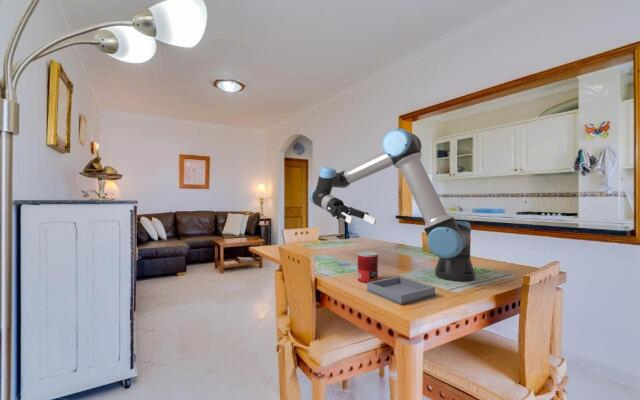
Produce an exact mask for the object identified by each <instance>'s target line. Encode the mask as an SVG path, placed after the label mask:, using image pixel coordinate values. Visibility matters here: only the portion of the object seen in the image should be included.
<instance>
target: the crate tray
mask: <svg viewBox="0 0 640 400" xmlns="http://www.w3.org/2000/svg"><path fill="white" fill-rule="evenodd" d="M366 291H367V292H368V293H370V294H373V295H376V296H379V297H380V298H382V299H385V300H388V301H390V302H393V303H395V304H397V305H399V306H403V305H407V304H411V303H414V302H419V301H422V300H425V299H429V298H432V297H433V298H434V297H435V296H436V287H435V286H432V285H430V284H426V283H424V282H423V283H422V282H419V281H415V280H412V279H409V278H406V277H403V276H399V275H398V276H395V277H394V276H393V277H390V278H389V277H388V278H385V279H384V278H383V279H378V280H377V281H373V282H368V283H366Z"/></svg>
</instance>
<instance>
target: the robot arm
mask: <svg viewBox="0 0 640 400" xmlns="http://www.w3.org/2000/svg"><path fill="white" fill-rule="evenodd" d="M381 145H382V146H381V147H382V150H383V151H382V152H380V153H377V154H375V155H374V156H372V157H369V158H368V159H365V160H363V161H361V162H359V163H357V164H354V165H352V166H350V167H348V168H346V169H344V170H342V171H340V172H337V169H335V168H334V167H333V168H332V167H329V166H322V167H321V169H320V172H319V173H318V174H319V175H318V179H317V182H316V188H315V189H313V190H311V192H310V193H309V200H310V202H311V203H312V204H314V205H315V206H318V207H319V208H321V209H323V210H324V211H326V213H329V214H330V215H331V216H332V217H333V218H336V220H340V219H341V220H343V221H345V222H346V223H348V224H350V225H352V223H353V219H354V217H356V218H359V219H363V221H365V222H367V223H368V224H371V225H373V226H375V225H376V222H377V218H376V217H374V216H372V215H370V213H368V211H362V210H360V209H356V208H354V207H353V206H347V205H345V203H344V202H343V200H341V199H340V198H338V197H336V196H334V195H331V193H332V190H333V188H339V189H344V188H345V189H346V188H348V187H349V186H350V185H351V184H353V183H355V182H357V181H359V180H362V179H364V178H367V177H370V176H371V175H374V174H376V173H378V172H380V171H383V170H385V169H387V168H390V167H392V166H394V168H397V169H398V170H400V172H401V174H402V175H403V176H402V177H403V178H404V180H405V183H406V185H407V186H408V189H409V191H410V193H411V195H412V198H413V200H414V202H415V203H416V206H417V208H418V211H419V212H420V214H421V216H422V218H423V221H424V222H425V225H424V227H423V230H424V232H425V234H426V236H427V239H426V244H427V247H428V249H429V250H430V252H431V253H432V254H433V255H435V256H436V257H438V260H437V264H436V265H435V269H434V274H435V275H434V276H436V277H437V278H440V279H444V280H448V281H454V282H455V281H456V282H471V281H474V280H475V279H476V272H475V269H474V266H473V264H472V260H471V232H472V228H471V224H470V222H468V221H461V220H455V218H454V216H453V215H449V214H447V211H446V209H445V207H444V205H443V203H442V201H441V199H440V197H439V194H438V193H437V191H436V189H435V187H434V185H433V183H432V181H431V178H430V177H429V175H428V172H427V171H426V169H425V167H424V165H423V164H424V163H422V160H421V158H422V156H423V153H422V151H421V150H422V142H421V139H420V138H419V137H418V136H417V135H416V134H413V132H412V133H411V132H410V131H408V130H406V129H404V128H393V129H391V130H390V131H388V132H387V133H386V134H385V135H384V138H383V140H382V143H381Z"/></svg>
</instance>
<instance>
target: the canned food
mask: <svg viewBox="0 0 640 400" xmlns="http://www.w3.org/2000/svg"><path fill="white" fill-rule="evenodd" d="M378 273H379V255H378V252H375V251H363V250H362V251H359V252H357V281H358V282H360V283H363V284H367V283H368V282H373V281H378V280H379V279H378V278H379V275H378Z"/></svg>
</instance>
